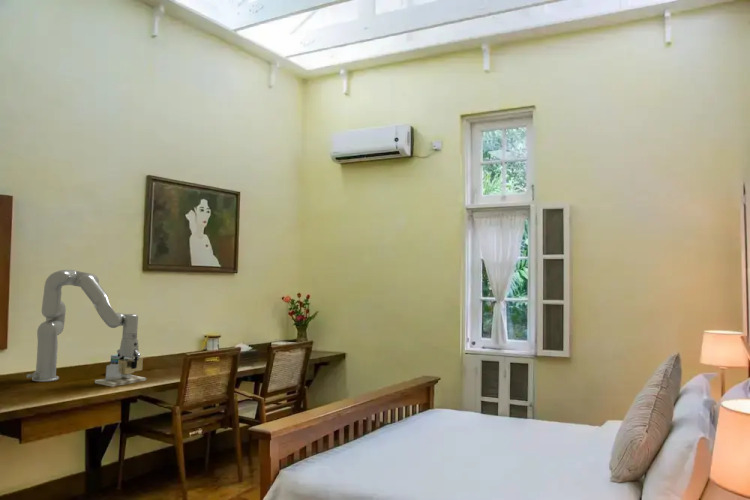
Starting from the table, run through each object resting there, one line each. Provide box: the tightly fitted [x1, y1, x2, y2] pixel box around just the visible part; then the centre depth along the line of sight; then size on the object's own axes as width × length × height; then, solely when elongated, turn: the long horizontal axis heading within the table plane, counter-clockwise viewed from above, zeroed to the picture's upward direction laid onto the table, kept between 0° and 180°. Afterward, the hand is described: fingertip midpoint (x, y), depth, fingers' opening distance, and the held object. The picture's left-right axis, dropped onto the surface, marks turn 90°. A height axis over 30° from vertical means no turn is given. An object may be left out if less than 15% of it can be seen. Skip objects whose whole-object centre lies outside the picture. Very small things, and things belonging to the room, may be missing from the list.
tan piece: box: [118, 357, 144, 374], centre depth 331 cm, size 14×6×7 cm, turn 153°
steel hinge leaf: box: [104, 359, 132, 382], centre depth 323 cm, size 15×6×10 cm, turn 153°
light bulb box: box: [109, 353, 131, 365], centre depth 348 cm, size 11×7×11 cm, turn 168°
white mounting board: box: [94, 374, 147, 388], centre depth 324 cm, size 22×14×2 cm, turn 153°
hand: (127, 367), depth 328 cm, fingers open, 9 cm apart
